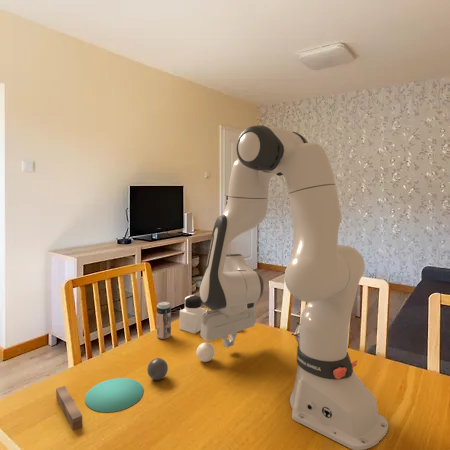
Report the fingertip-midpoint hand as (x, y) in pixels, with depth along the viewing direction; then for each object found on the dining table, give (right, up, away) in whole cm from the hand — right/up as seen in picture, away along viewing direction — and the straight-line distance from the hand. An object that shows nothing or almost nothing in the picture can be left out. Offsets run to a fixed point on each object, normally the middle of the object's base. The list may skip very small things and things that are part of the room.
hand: (228, 346), depth 111 cm
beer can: (-22, -1, +10) cm, 25 cm away
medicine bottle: (-13, 0, +18) cm, 22 cm away
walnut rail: (-38, -5, -30) cm, 48 cm away
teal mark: (-29, -4, -23) cm, 37 cm away
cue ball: (-7, 0, -6) cm, 9 cm away
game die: (+25, -2, +5) cm, 26 cm away
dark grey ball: (-20, -1, -16) cm, 25 cm away
